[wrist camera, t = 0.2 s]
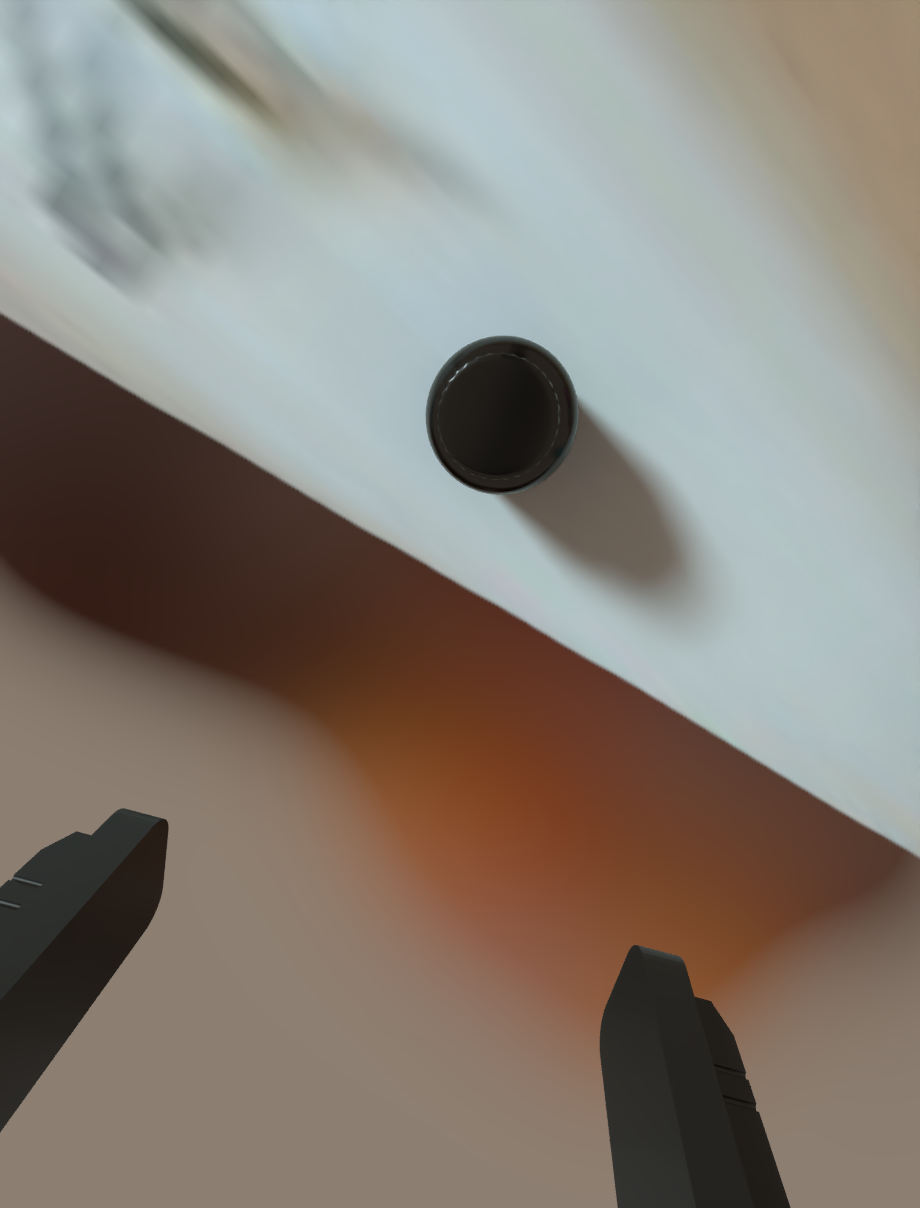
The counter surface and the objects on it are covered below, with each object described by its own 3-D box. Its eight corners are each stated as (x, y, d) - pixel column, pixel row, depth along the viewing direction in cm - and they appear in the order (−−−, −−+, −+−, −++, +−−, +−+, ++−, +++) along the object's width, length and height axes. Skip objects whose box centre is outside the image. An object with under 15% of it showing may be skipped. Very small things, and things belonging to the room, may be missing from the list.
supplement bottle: (588, 441, 36) (617, 458, 24) (482, 498, 37) (463, 539, 26) (532, 326, 34) (536, 287, 23) (424, 390, 36) (377, 384, 24)
